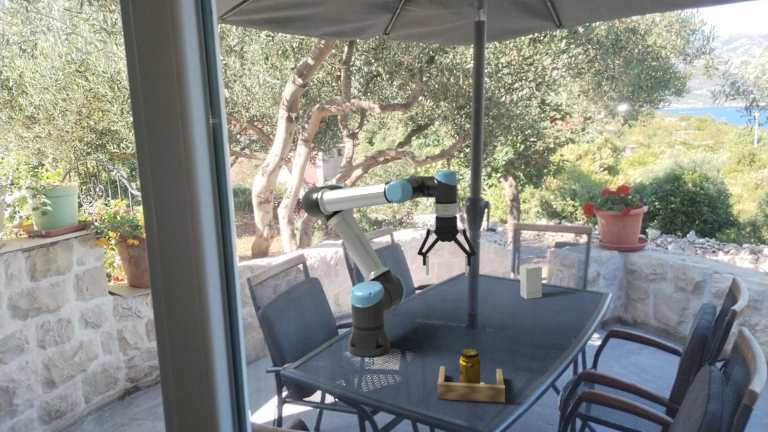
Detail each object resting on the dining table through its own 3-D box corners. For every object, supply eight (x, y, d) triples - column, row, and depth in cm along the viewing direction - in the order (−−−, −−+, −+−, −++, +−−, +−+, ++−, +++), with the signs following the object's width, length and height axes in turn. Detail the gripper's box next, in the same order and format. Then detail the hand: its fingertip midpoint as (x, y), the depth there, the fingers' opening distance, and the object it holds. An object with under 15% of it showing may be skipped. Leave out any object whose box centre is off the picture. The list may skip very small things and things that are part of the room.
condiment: (456, 384, 151) (456, 347, 149) (483, 382, 152) (483, 345, 150) (461, 396, 144) (461, 358, 142) (490, 395, 145) (490, 356, 143)
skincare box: (535, 293, 234) (536, 263, 232) (542, 297, 228) (542, 266, 226) (519, 295, 232) (519, 264, 230) (525, 299, 226) (526, 268, 224)
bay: (437, 398, 143) (437, 384, 143) (440, 375, 158) (440, 361, 157) (504, 402, 140) (504, 387, 140) (501, 378, 154) (501, 364, 154)
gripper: (409, 217, 170) (410, 277, 173) (483, 216, 165) (483, 278, 169) (411, 213, 177) (412, 271, 180) (482, 213, 173) (482, 272, 176)
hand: (446, 274), depth 174 cm, fingers open, 13 cm apart
